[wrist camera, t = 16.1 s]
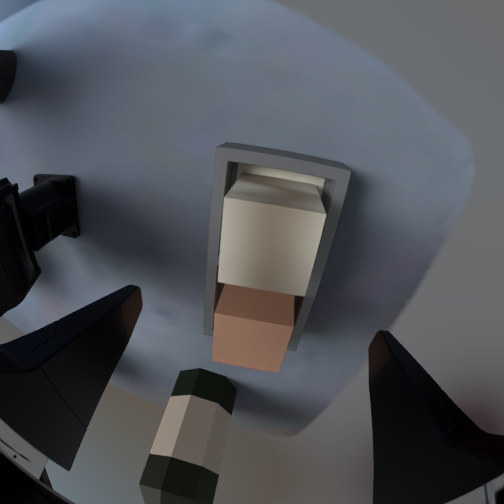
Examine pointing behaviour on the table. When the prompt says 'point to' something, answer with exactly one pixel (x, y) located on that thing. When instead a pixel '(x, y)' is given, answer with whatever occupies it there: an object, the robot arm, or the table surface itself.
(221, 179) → the pocket frame
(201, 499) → the wine bottle
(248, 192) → the ivory block
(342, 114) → the table surface
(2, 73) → the travel mug
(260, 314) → the terracotta block
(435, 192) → the table surface
